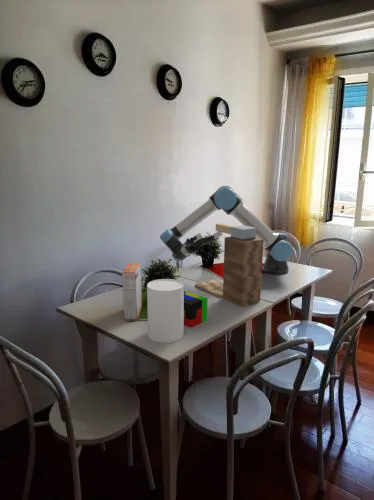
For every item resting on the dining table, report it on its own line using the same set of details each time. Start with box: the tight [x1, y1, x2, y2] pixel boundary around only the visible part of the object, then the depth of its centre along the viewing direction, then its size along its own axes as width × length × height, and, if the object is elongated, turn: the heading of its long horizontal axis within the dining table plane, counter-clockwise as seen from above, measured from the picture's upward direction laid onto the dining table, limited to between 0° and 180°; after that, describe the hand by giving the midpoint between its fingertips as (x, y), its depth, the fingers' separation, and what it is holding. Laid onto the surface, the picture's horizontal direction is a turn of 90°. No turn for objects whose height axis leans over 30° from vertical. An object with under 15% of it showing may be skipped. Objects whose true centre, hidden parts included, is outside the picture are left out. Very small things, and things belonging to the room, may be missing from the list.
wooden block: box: [222, 236, 264, 308], centre depth 177 cm, size 12×13×30 cm
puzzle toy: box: [184, 292, 208, 329], centre depth 155 cm, size 10×10×10 cm
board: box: [194, 279, 223, 299], centre depth 194 cm, size 13×21×1 cm, turn 35°
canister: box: [146, 278, 185, 344], centre depth 142 cm, size 14×14×20 cm
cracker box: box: [121, 262, 143, 321], centre depth 161 cm, size 14×6×21 cm, turn 178°
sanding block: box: [215, 222, 257, 241], centre depth 178 cm, size 8×22×5 cm, turn 35°
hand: (211, 233), depth 192 cm, fingers open, 13 cm apart
